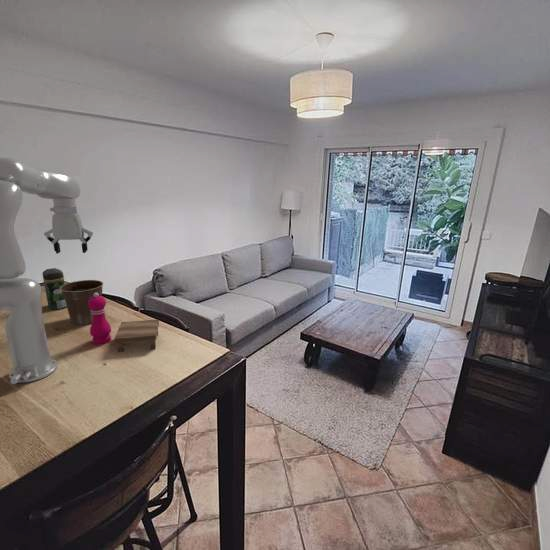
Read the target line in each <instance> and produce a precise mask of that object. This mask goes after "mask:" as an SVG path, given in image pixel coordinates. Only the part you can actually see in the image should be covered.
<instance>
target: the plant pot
mask: <svg viewBox="0 0 550 550" xmlns="http://www.w3.org/2000/svg"><path fill="white" fill-rule="evenodd" d="M103 287H104V282H103V281H101V280H96V279H86V280H85V279H83V280H82V279H81V280H76V281H72V282H68V283H65V284H64V285H62V286H61V287H60V290H61V291H62V294H63V297H64V298H65V302H66V305H67V307H66V309H67V312H68V315H69V316H68V317H69V320H70V323H71V324H73V325H74V326H75V325H76V326H86V325H90V324H91V325H92V322H93V315H92V314H91V311H90V310H91V308H89V306H88V301H89V299H90V298H92V297H94V296H93V294H94V293H98V294H99V296H102V295H103ZM102 297H103V296H102Z"/></svg>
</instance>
